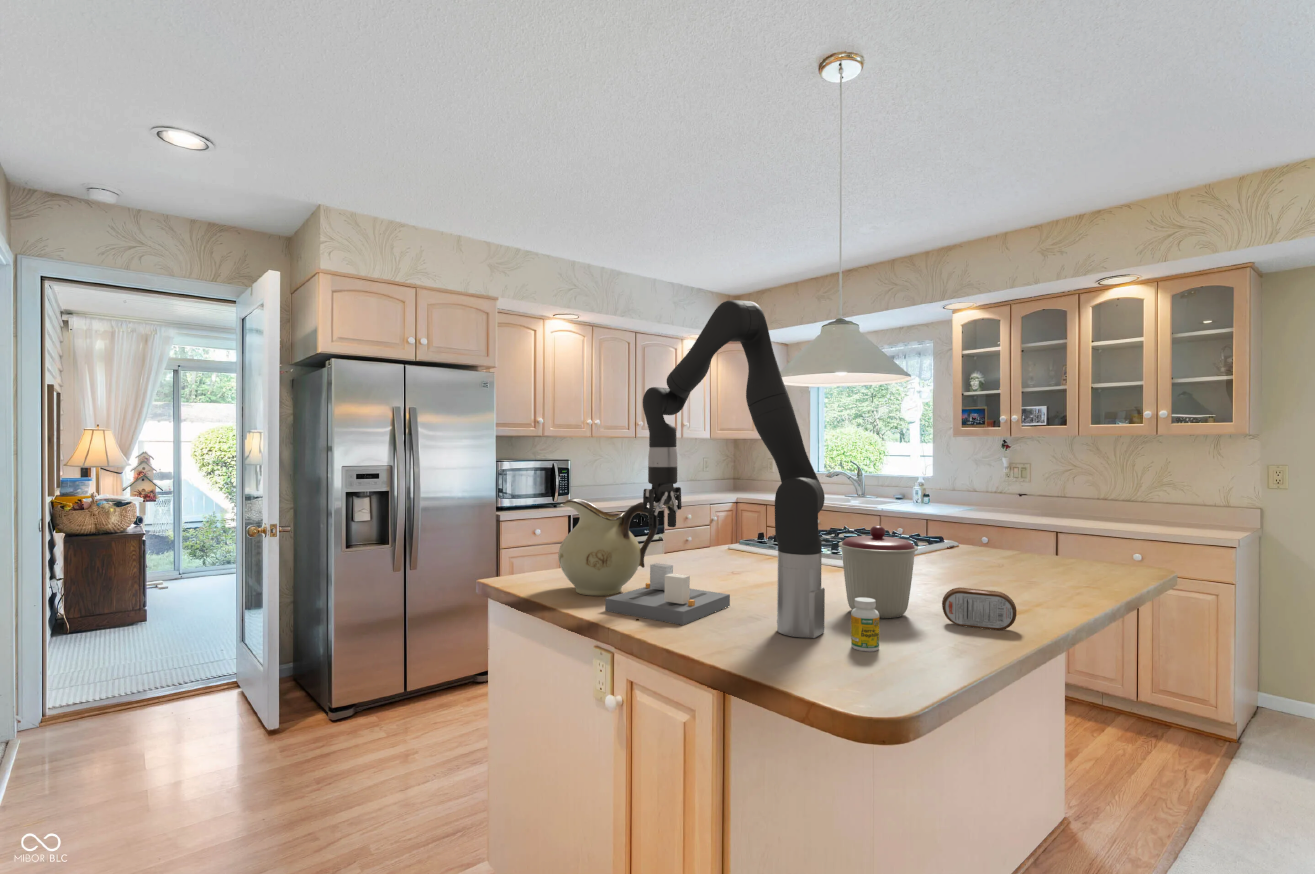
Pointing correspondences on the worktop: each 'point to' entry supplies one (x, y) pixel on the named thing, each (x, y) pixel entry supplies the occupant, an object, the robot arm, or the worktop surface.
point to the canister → (879, 571)
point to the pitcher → (601, 549)
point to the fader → (677, 588)
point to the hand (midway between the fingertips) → (662, 528)
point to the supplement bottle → (865, 625)
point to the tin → (979, 608)
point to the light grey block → (659, 575)
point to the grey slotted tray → (666, 605)
